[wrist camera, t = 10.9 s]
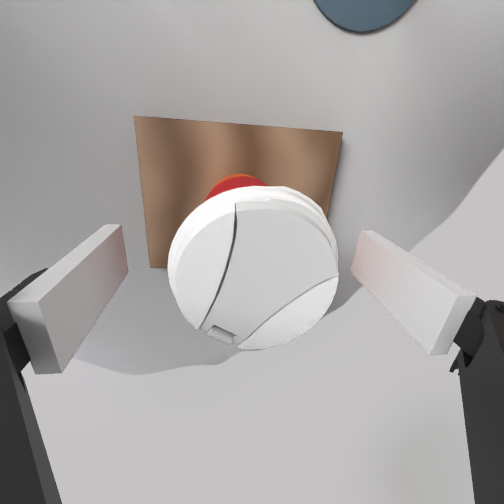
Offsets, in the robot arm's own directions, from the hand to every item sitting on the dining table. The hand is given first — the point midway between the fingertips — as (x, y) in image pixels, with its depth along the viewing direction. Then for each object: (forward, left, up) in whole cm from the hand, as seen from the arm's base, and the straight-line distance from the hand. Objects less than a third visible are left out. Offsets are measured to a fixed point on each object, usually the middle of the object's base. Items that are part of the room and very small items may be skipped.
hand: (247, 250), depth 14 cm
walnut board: (0, 0, -13) cm, 13 cm away
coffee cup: (0, 0, -12) cm, 12 cm away
